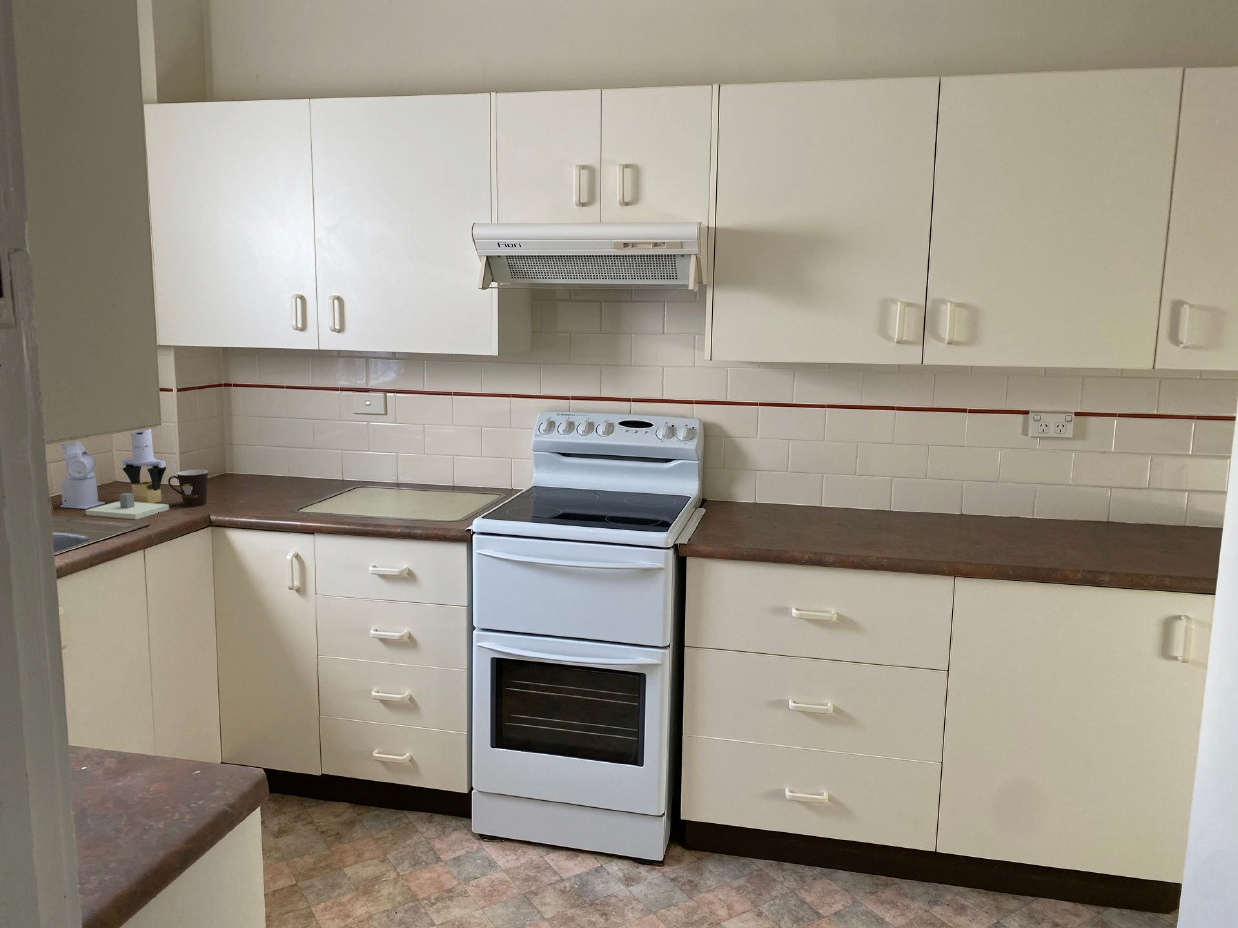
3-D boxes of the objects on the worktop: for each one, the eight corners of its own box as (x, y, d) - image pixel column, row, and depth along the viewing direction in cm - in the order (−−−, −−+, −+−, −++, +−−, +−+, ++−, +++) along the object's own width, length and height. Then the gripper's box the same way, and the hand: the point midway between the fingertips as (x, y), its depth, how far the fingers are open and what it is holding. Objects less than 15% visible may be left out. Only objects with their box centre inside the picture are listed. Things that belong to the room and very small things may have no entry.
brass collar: (133, 503, 292) (131, 484, 291) (146, 499, 297) (145, 480, 296) (148, 504, 290) (146, 485, 289) (161, 500, 295) (159, 481, 294)
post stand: (85, 515, 276) (83, 496, 275) (120, 505, 289) (118, 488, 288) (135, 519, 271) (134, 500, 270) (169, 509, 283) (167, 491, 282)
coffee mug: (216, 503, 292) (213, 471, 290) (191, 508, 285) (188, 476, 283) (192, 499, 298) (190, 467, 296) (167, 504, 290) (164, 472, 289)
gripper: (171, 444, 292) (175, 487, 295) (133, 443, 296) (137, 485, 299) (154, 448, 285) (158, 492, 288) (115, 446, 290) (120, 489, 292)
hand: (146, 489), depth 293 cm, fingers open, 7 cm apart
